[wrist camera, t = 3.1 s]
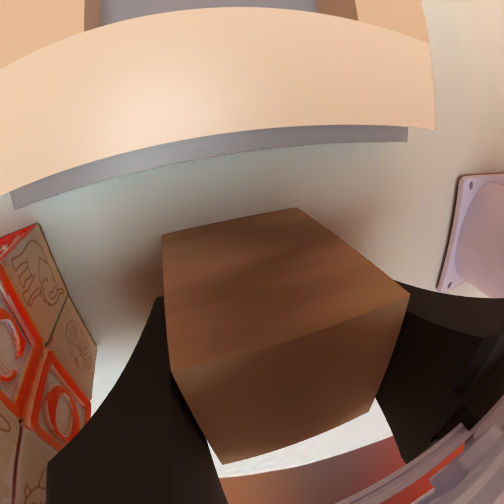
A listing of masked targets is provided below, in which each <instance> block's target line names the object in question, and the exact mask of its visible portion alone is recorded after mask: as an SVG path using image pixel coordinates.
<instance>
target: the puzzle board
mask: <svg viewBox="0 0 504 504" xmlns="http://www.w3.org/2000/svg"><path fill="white" fill-rule="evenodd" d="M407 127H417V128H428V129H435V108H434V87H433V74H432V63H431V55H430V47H429V40H428V34H427V28H426V23H425V18H424V13H423V8H422V4H421V0H0V196H1V195H3V194H5V193H8V192H10V194H11V198H12V201H13V205H14V208H15V210H16V209H19V208H21V207H24V206H27V205H29V204H32V203H35V202H38V201H40V200H43V199H46V198H49V197H52V196H55V195H58V194H61V193H64V192H67V191H70V190H73V189H76V188H80V187H83V186H86V185H90V184H93V183H97V182H100V181H104V180H107V179H111V178H115V177H119V176H122V175H126V174H130V173H134V172H139V171H143V170H147V169H151V168H156V167H161V166H165V165H170V164H175V163H180V162H185V161H190V160H196V159H201V158H207V157H213V156H219V155H225V154H232V153H239V152H246V151H253V150H261V149H270V148H279V147H289V146H300V145H312V144H327V143H347V142H407V136H408V128H407Z"/></svg>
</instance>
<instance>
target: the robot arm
mask: <svg viewBox="0 0 504 504" xmlns="http://www.w3.org/2000/svg"><path fill="white" fill-rule="evenodd" d="M466 280H467V281H468V282H470V283H471V284H472V285H474V286H475V287H476V288H478V289H479V290H480V291H482V292H483V293H484V294H486V295H487V296H488V297H490V298H475V297H464V296H456V295H450V294H444V292H446V291H448V290H450V289H452V288H453V287H455V286H457V285H459V284H461V283H462V282H464V281H466ZM394 281H395V280H394ZM395 282H396V283H398V284H399V285H400V286H401V287H402V288H404V289H405V290H406V291H407V292H408V293H410V298H409V302H408V305H407V309H406V312H405V316H404V319H403V323H402V326H401V329H400V332H399V335H398V338H397V341H396V344H395V347H394V350H393V353H392V356H391V359H390V361H389V364H388V367H387V369H386V372H385V374H384V377H383V379H382V382H381V384H380V387H379V389H378V392H377V394H376V396H375V398H376V400H377V402H378V404H379V406H380V407H381V409H382V411H383V414H384V416H385V418H386V420H387V422H388V424H389V426H390V428H391V431H392V433H393V436H394V438H395V441H396V443H397V446H398V448H399V451H400V454H401V457H402V459H403V460H404V462H405V463H406V465H405V466H403V467H402V468H400V469H399V470H397V471H395V472H394V473H392V474H391V475H389V476H387V477H386V478H384V479H382V480H380V481H379V482H377V483H375V484H373V485H372V486H370V487H368V488H366V489H364V490H362V491H360V492H358V493H356V494H354V495H352V496H350V497H348V498H346V499H344V500H342V501H340V502H337V503H335V504H380V503H382V502H383V501H385V500H387V499H388V498H390V497H392V496H393V495H395V494H397V493H398V492H400V491H401V490H403V489H404V488H406V487H407V486H409V485H410V484H412V483H413V482H415V481H416V480H417V479H419V478H420V477H422V476H423V475H425V474H426V473H427V472H429V471H430V470H431V469H433V468H434V467H435V466H436V465H438V464H439V463H440V462H441V461H443V460H444V459H445V458H446V457H447V456H449V455H450V454H451V453H452V452H453V451H454V450H456V449H457V448H458V447H459V446H460V445H461V444H462V443H464V442H465V445H464V446H465V448H464V451H463V452H462V453H461V454H459V455H458V456H457V457H456V458H455V459H453V460H452V461H451V462H450V463H448V464H447V465H446V466H445V467H443V468H442V469H441V470H440V471H439V472H437V473H436V474H435V475H434V476H433V477H431V478H430V482H431V483H432V485H433V486H434V488H433V489H431V490H430V491H428V492H427V493H426V494H424V495H423V496H421V497H420V498H419V499H417V500H416V501H414V502H413V503H411V504H504V173H502V174H486V175H472V176H463V177H462V178H461V179H460V181H459V186H458V194H457V202H456V208H455V214H454V220H453V226H452V231H451V236H450V241H449V246H448V250H447V254H446V259H445V263H444V267H443V270H442V274H441V278H440V281H439V285H438V291H439V292H441V293H438V292H434V291H429V290H425V289H421V288H417V287H414V286H410V285H407V284H404V283H401V282H398V281H395ZM46 504H228V502H227V500H226V497H225V495H224V492H223V489H222V486H221V483H220V481H219V478H218V475H217V472H216V469H215V466H214V463H213V460H212V456H211V453H210V450H209V447H208V443H207V440H206V437H205V435H204V434H203V432H202V430H201V428H200V427H199V425H198V423H197V421H196V419H195V418H194V416H193V414H192V412H191V410H190V408H189V406H188V405H187V403H186V401H185V399H184V397H183V395H182V393H181V391H180V389H179V387H178V385H177V383H176V381H175V379H174V377H173V375H172V372H171V368H170V359H169V350H168V340H167V329H166V317H165V303H164V296H162V297H157V298H156V300H155V302H154V304H153V307H152V310H151V312H150V315H149V318H148V320H147V323H146V325H145V327H144V330H143V332H142V334H141V336H140V339H139V341H138V343H137V345H136V347H135V349H134V351H133V353H132V355H131V357H130V359H129V361H128V363H127V365H126V367H125V368H124V370H123V372H122V374H121V375H120V377H119V379H118V380H117V382H116V384H115V385H114V387H113V388H112V390H111V391H110V393H109V394H108V396H107V397H106V398H105V400H104V401H103V403H102V404H101V405H100V407H99V408H98V410H97V411H96V412H95V413H94V415H93V416H92V417H91V418H90V420H89V421H88V422H87V423H86V424H85V425H84V427H83V428H82V429H81V430H80V431H79V432H78V433H77V434H76V435H75V437H74V438H73V439H72V440H71V441H70V442H69V443H68V444H67V445H66V446H65V447H64V448H62V449H61V450H60V451H59V452H58V453H57V454H56V455H55V456H54V457H53V458H52V459H51V460H50V461H49V462H48V463H47V474H46Z"/></svg>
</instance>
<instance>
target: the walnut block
mask: <svg viewBox="0 0 504 504" xmlns="http://www.w3.org/2000/svg"><path fill="white" fill-rule="evenodd" d="M162 263H163V287H164V303H165V317H166V329H167V340H168V350H169V359H170V368H171V372H172V375H173V377H174V379H175V381H176V383H177V385H178V387H179V389H180V391H181V393H182V395H183V397H184V399H185V401H186V403H187V405H188V406H189V408H190V410H191V412H192V414H193V416H194V418H195V419H196V421H197V423H198V425H199V427H200V428H201V430H202V432H203V434H204V435H205V437H206V439H207V440H208V442H209V444H210V446H211V447H212V449H213V451H214V452H215V454H216V455H217V457H218V459H219V460H220V462H221V463H222V465H224V464H228V463H232V462H236V461H240V460H244V459H248V458H251V457H255V456H259V455H262V454H265V453H269V452H272V451H275V450H278V449H281V448H284V447H287V446H290V445H293V444H295V443H298V442H301V441H304V440H306V439H309V438H311V437H314V436H316V435H319V434H321V433H324V432H326V431H328V430H331V429H333V428H335V427H337V426H340V425H342V424H344V423H346V422H348V421H350V420H353V419H355V418H357V417H359V416H361V415H363V414H365V413H367V412H369V410H370V408H371V405H372V403H373V401H374V399H375V396H376V394H377V392H378V389H379V387H380V384H381V382H382V379H383V377H384V374H385V372H386V369H387V367H388V364H389V361H390V359H391V356H392V353H393V350H394V347H395V344H396V341H397V338H398V335H399V332H400V329H401V326H402V323H403V319H404V316H405V312H406V309H407V305H408V302H409V298H410V293H408V292H407V291H406V290H405V289H404V288H402V287H401V286H400V285H399V284H398V283H396V282H395V281H394V280H393V279H391V278H390V277H389V276H388V275H386V274H385V273H384V272H383V271H381V270H380V269H379V268H378V267H376V266H375V265H374V264H372V263H371V262H370V261H369V260H367V259H366V258H365V257H363V256H362V255H361V254H360V253H358V252H357V251H356V250H354V249H353V248H352V247H350V246H349V245H348V244H346V243H345V242H344V241H342V240H341V239H340V238H338V237H337V236H336V235H334V234H333V233H332V232H330V231H329V230H328V229H326V228H325V227H323V226H322V225H321V224H319V223H318V222H316V221H315V220H314V219H312V218H311V217H309V216H308V215H307V214H305V213H304V212H302V211H301V210H300V209H298V208H292V209H286V210H281V211H275V212H270V213H265V214H260V215H254V216H249V217H244V218H239V219H234V220H229V221H225V222H220V223H215V224H210V225H205V226H201V227H196V228H191V229H187V230H182V231H178V232H173V233H169V234H164V235H162Z"/></svg>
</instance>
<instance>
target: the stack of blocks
mask: <svg viewBox="0 0 504 504" xmlns="http://www.w3.org/2000/svg"><path fill="white" fill-rule="evenodd" d="M96 355H97V347H96V345H95V344H94V342H93V340H92V339H91V337H90V335H89V333H88V331H87V330H86V328H85V326H84V324H83V322H82V321H81V319H80V317H79V315H78V313H77V311H76V309H75V307H74V305H73V304H72V302H71V299H70V298H69V296H68V295H67V290H66V288H65V285H64V283H63V281H62V279H61V277H60V274H59V272H58V270H57V267H56V265H55V263H54V261H53V259H52V256H51V253H50V251H49V248H48V246H47V244H46V241H45V239H44V236H43V234H42V232H41V230H40V227H39V225H38V224H34V225H31V226H29V227H26V228H24V229H21V230H19V231H16V232H14V233H11V234H9V235H6V236H4V237H2V238H0V504H46V474H47V463H48V462H49V461H50V460H51V459H52V458H53V457H54V456H55V455H56V454H57V453H58V452H59V451H60V450H61V449H62V448H64V447H65V446H66V445H67V444H68V443H69V442H70V441H71V440H72V439H73V438H74V437H75V435H76V434H77V433H78V432H79V431H80V430H81V429H82V428H83V427H84V425H85V424H86V423H87V422H88V421H89V420H90V418H91V402H90V400H91V398H92V388H93V378H94V369H95V361H96Z"/></svg>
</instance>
